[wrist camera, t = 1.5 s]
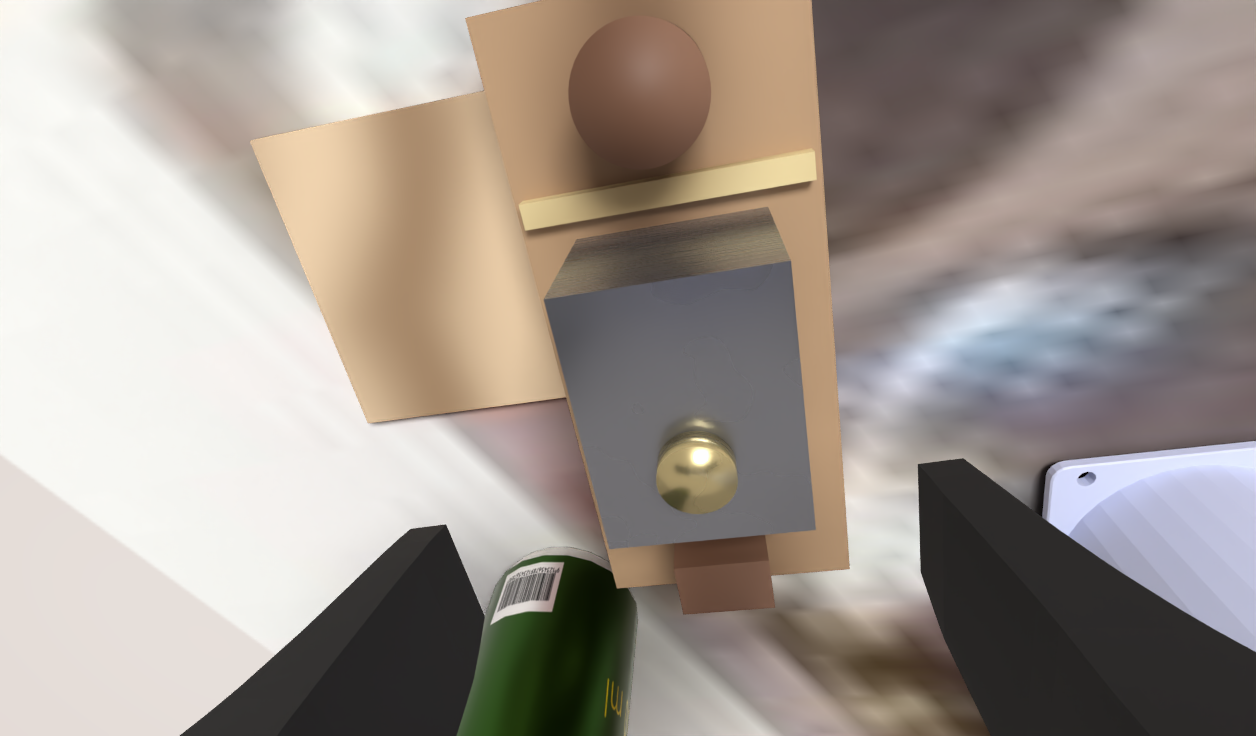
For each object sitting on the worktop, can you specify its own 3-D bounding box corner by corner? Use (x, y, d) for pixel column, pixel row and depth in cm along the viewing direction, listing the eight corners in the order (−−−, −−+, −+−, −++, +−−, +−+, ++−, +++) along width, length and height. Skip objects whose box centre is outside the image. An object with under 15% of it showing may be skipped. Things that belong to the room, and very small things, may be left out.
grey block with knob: (768, 206, 15) (795, 271, 11) (791, 429, 18) (820, 549, 14) (576, 239, 16) (536, 311, 12) (625, 449, 19) (606, 568, 15)
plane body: (787, -46, 16) (829, -79, 11) (831, 504, 22) (868, 634, 18) (501, 19, 17) (424, 16, 12) (625, 525, 24) (608, 651, 19)
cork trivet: (499, 87, 18) (494, 88, 17) (576, 389, 21) (574, 395, 21) (257, 138, 19) (249, 140, 18) (373, 417, 22) (368, 423, 22)
